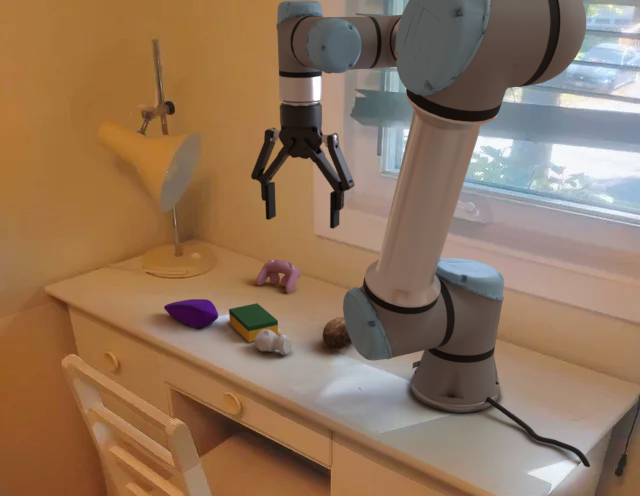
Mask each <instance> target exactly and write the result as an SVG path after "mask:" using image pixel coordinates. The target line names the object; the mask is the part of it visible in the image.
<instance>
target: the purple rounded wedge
mask: <svg viewBox="0 0 640 496" xmlns="http://www.w3.org/2000/svg"><path fill="white" fill-rule="evenodd" d="M163 309H164V310H165V311H166V312H167V313H168V314H169V315H170V317H172V318H173V319H175V320H176V321H178V322H180V323H182V324H184V325H186V326H188V327H193V328H197V329H201V328H205V327H208V326H209V325H211V324H212V323H214V322H215V321H217V320H218V319H219V313H218V311H217V308H216V306H215V305H214V303H213V302H212V301H211V300H209V299H204V298H201V299H200V298H198V299H197V298H194V299H193V298H192V299H191V298H190V299H184V300H179V301H174V302H171V303H168V304H165V305H164V306H163Z"/></svg>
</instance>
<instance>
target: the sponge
mask: <svg viewBox="0 0 640 496" xmlns="http://www.w3.org/2000/svg"><path fill="white" fill-rule="evenodd" d="M228 316H229V324H230V326H231V327H232V328H234V330H235V331H237V332H238V334H240V335H241V336H242V337H243V338H244V339H245V340H246V341H247V342H248V343H253V342H255V336H256V335H257V333H258V332H259V331H261V330H264V329H268V330H271V331H273V332H274V333H275V334H276V335H277V336H279V320H278V319H277V318H275V317H274V316H273V315H272V314H271V313H270V312H269V311H267V310H266V309H265V308H264V307H263V306H261V305H260V304H259V303H256V302H255V303H252V304H247V305H241V306H237V307H232V308H228Z"/></svg>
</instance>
